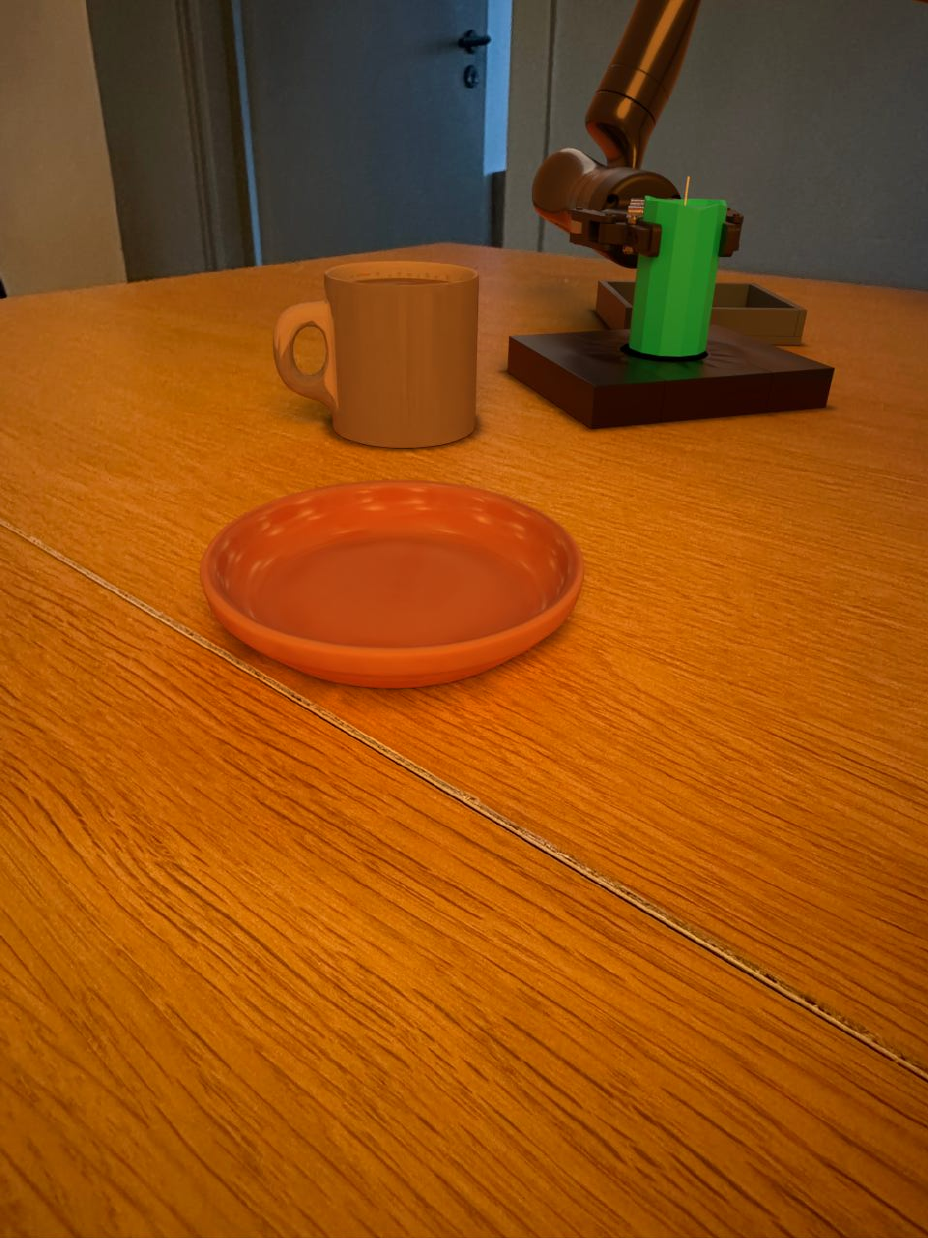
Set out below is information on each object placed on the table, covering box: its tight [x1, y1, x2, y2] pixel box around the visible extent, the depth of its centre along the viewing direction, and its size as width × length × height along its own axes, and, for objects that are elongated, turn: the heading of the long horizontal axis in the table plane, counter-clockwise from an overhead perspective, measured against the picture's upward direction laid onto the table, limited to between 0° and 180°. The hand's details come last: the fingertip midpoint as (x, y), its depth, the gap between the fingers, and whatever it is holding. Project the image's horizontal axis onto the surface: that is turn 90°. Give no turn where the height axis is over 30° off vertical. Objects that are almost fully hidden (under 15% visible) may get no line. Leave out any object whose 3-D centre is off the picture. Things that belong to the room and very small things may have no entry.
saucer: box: [199, 479, 586, 689], centre depth 37 cm, size 16×16×3 cm
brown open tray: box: [595, 279, 808, 346], centre depth 90 cm, size 18×16×3 cm
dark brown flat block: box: [506, 324, 836, 430], centre depth 69 cm, size 20×16×3 cm
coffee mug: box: [272, 260, 480, 449], centre depth 58 cm, size 13×10×10 cm
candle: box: [629, 176, 728, 357], centre depth 65 cm, size 6×6×12 cm
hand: (693, 241), depth 62 cm, fingers closed on candle, 5 cm apart
